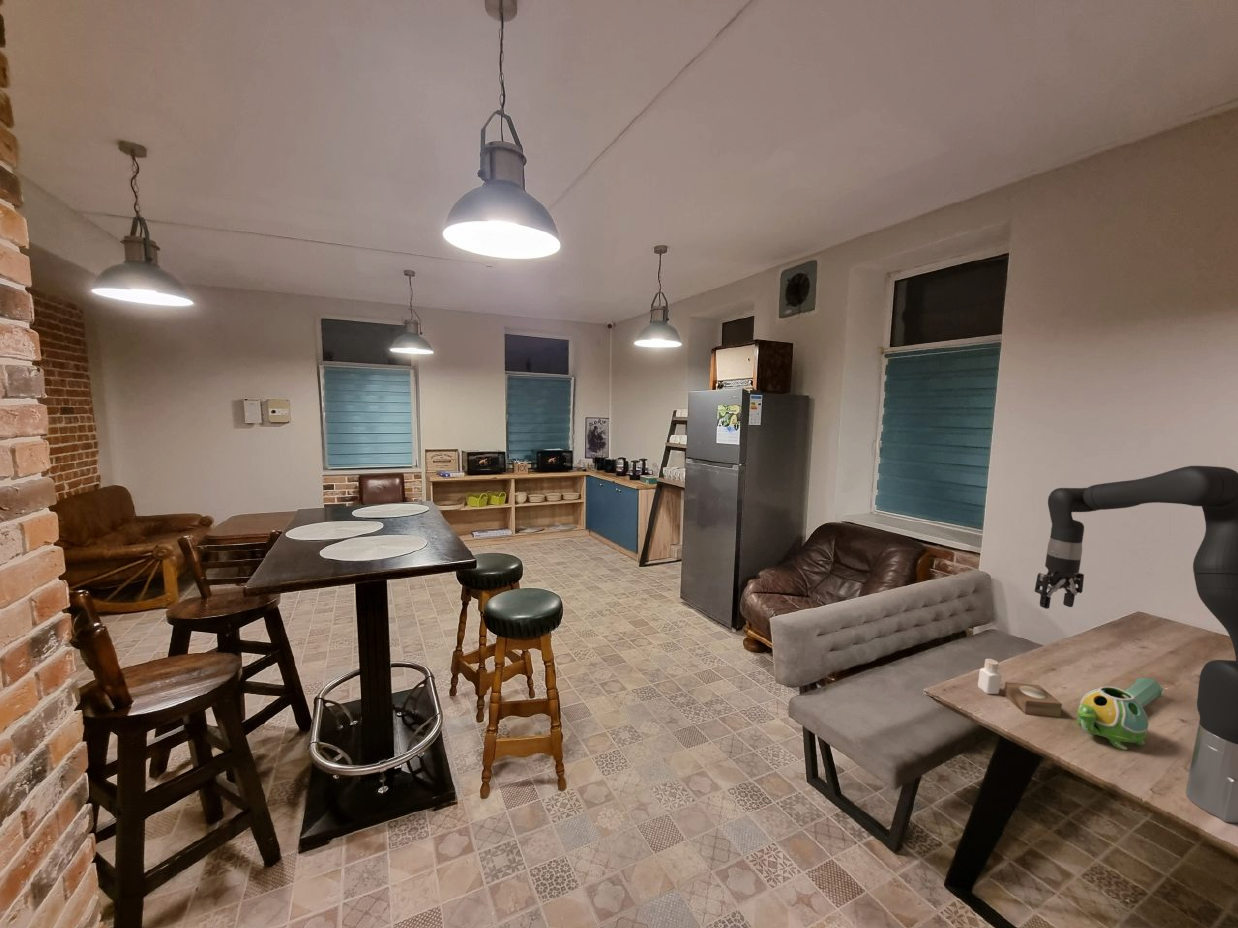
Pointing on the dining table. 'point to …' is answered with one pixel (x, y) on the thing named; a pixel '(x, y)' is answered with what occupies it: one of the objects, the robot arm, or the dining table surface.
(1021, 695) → the base
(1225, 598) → the robot arm
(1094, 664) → the dining table surface
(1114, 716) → the turtle holder
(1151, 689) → the container
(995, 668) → the salt shaker
